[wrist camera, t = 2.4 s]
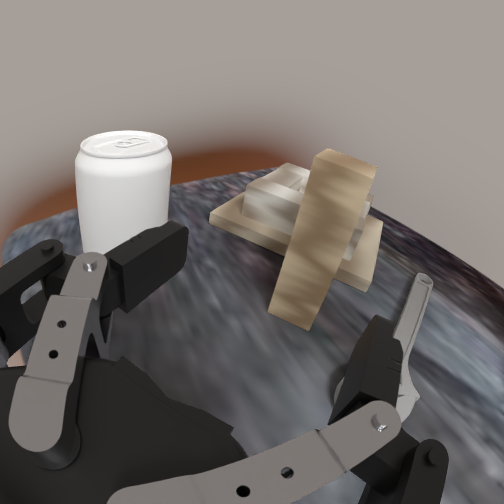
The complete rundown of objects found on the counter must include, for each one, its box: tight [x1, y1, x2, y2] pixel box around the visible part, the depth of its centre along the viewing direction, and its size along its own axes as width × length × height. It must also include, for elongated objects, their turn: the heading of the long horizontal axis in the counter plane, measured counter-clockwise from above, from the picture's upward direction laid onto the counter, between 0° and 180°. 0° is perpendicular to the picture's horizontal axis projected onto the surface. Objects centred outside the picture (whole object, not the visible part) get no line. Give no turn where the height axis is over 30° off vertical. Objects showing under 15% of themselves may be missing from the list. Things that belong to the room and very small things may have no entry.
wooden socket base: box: [209, 163, 383, 292], centre depth 39 cm, size 20×18×6 cm
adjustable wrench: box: [334, 273, 433, 423], centre depth 26 cm, size 25×6×2 cm, turn 137°
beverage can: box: [75, 131, 172, 254], centre depth 24 cm, size 8×8×12 cm
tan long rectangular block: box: [267, 148, 377, 331], centre depth 24 cm, size 4×5×14 cm
